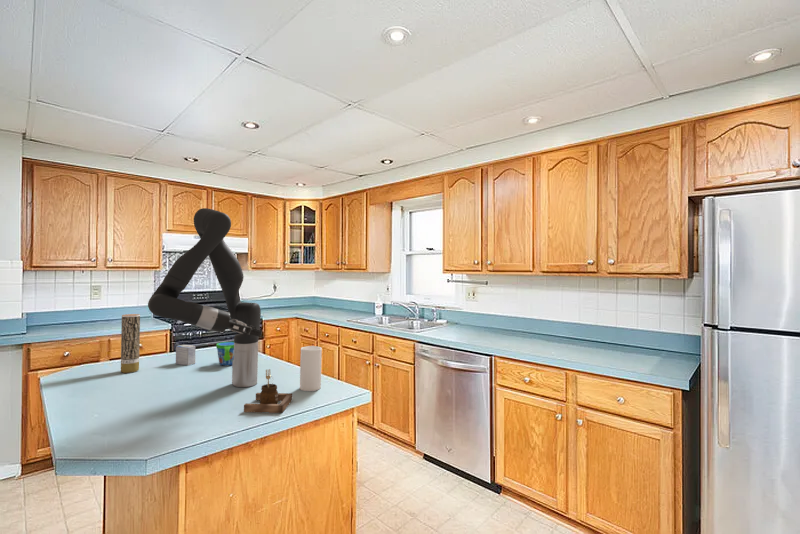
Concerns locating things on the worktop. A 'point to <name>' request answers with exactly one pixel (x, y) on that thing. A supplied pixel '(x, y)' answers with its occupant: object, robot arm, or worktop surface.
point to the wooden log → (130, 343)
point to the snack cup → (225, 353)
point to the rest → (270, 408)
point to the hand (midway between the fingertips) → (257, 331)
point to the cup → (310, 368)
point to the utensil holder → (269, 392)
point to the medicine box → (185, 354)
